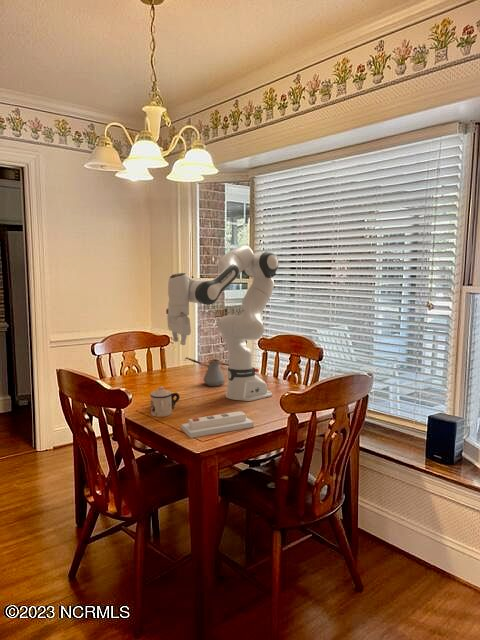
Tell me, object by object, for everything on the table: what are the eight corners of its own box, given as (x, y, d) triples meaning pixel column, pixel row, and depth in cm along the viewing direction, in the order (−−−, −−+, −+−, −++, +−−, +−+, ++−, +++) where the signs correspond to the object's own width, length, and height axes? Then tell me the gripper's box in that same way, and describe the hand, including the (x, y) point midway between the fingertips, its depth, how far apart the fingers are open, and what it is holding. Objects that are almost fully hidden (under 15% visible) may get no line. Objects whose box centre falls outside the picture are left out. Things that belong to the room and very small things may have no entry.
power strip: (240, 421, 182) (240, 409, 182) (245, 424, 178) (245, 412, 178) (189, 430, 173) (188, 417, 172) (193, 434, 169) (193, 421, 168)
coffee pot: (224, 381, 247) (224, 354, 245) (225, 387, 236) (225, 358, 234) (185, 382, 245) (184, 355, 243) (184, 388, 234) (184, 359, 232)
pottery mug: (158, 413, 195) (151, 395, 197) (156, 416, 203) (149, 399, 205) (184, 402, 200) (177, 385, 201) (180, 406, 208) (174, 389, 210)
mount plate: (242, 419, 186) (242, 414, 185) (253, 426, 177) (253, 421, 176) (181, 429, 174) (181, 424, 174) (190, 437, 165) (190, 432, 165)
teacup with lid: (150, 411, 196) (149, 385, 195) (171, 409, 198) (170, 383, 197) (151, 420, 184) (150, 392, 183) (173, 418, 186) (173, 391, 185)
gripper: (194, 313, 187) (194, 346, 189) (178, 309, 205) (178, 339, 207) (179, 313, 184) (180, 347, 186) (164, 309, 203) (165, 340, 204)
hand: (179, 343), depth 197 cm, fingers open, 8 cm apart
